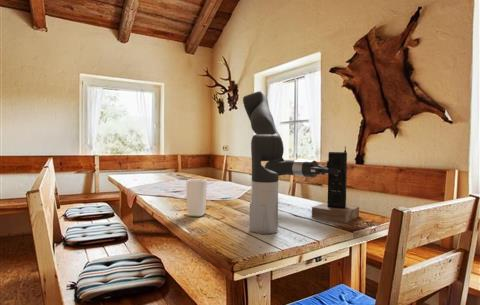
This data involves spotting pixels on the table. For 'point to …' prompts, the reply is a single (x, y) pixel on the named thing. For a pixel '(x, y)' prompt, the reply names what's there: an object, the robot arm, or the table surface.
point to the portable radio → (337, 179)
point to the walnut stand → (335, 213)
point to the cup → (196, 196)
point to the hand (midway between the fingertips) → (341, 171)
